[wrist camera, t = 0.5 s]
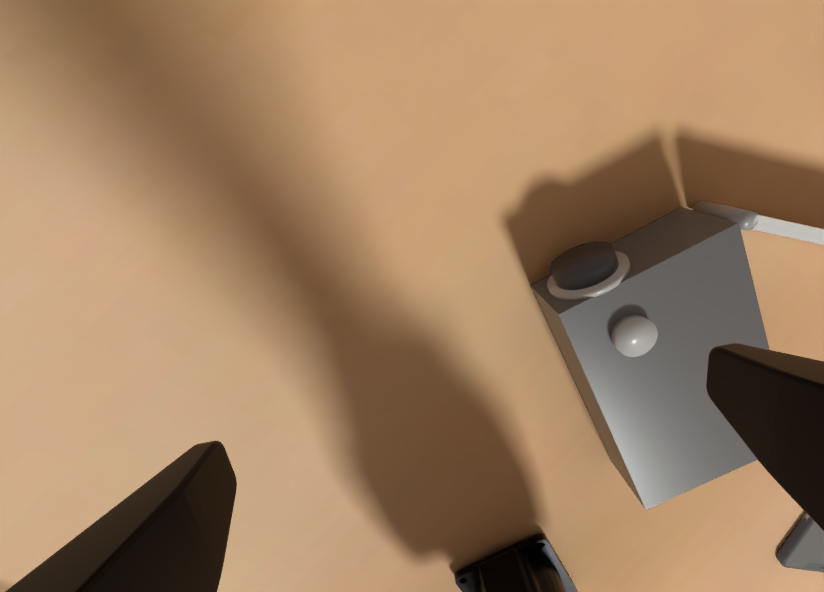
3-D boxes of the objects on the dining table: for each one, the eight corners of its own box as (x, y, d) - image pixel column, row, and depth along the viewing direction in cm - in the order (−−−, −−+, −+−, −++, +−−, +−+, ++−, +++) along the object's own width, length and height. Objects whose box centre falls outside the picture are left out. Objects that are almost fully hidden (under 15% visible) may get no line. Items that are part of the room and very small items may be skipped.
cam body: (739, 402, 26) (802, 450, 22) (611, 461, 27) (651, 517, 23) (677, 187, 21) (745, 202, 17) (522, 269, 22) (554, 299, 18)
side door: (883, 234, 22) (953, 249, 20) (872, 254, 23) (939, 271, 20) (699, 193, 21) (748, 203, 18) (690, 215, 21) (736, 228, 18)
